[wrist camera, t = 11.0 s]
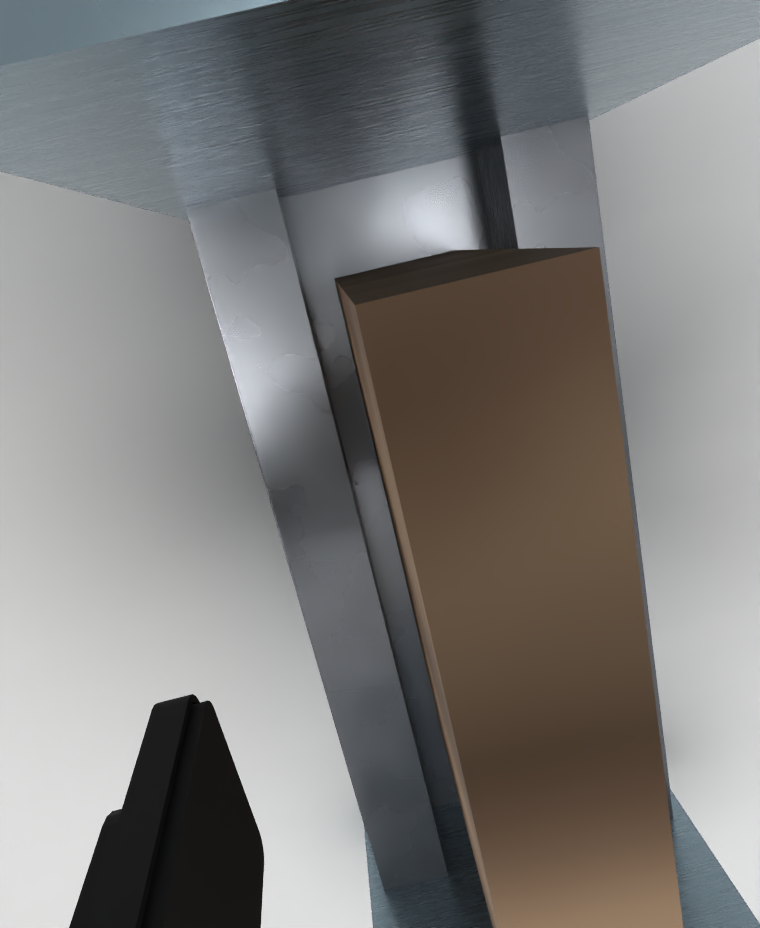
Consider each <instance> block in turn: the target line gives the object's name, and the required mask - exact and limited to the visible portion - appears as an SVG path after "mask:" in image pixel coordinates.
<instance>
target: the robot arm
mask: <svg viewBox="0 0 760 928" xmlns="http://www.w3.org/2000/svg"><path fill="white" fill-rule="evenodd" d="M263 872H264V852H263V845H262V840H261V836H260V833H259V830H258V827H257V824H256V822H255V819H254V816H253V814H252V811H251V808H250V805H249V803H248V800H247V797H246V794H245V792H244V789H243V786H242V783H241V781H240V778H239V775H238V773H237V770H236V767H235V764H234V762H233V759H232V756H231V753H230V751H229V748H228V745H227V743H226V740H225V737H224V734H223V732H222V729H221V726H220V723H219V721H218V718H217V715H216V712H215V710H214V707H213V705H212V703H211V702H210V701H205V702H201V703H200V702H199V700H198V698H197V697H196V696H195V695H193V694H192V695H188V696H184V697H180V698H176V699H172V700H168V701H164V702H160V703H157V704H155V705H154V707H153V709H152V712H151V715H150V718H149V722H148V725H147V728H146V732H145V735H144V738H143V741H142V745H141V748H140V751H139V755H138V758H137V761H136V765H135V768H134V771H133V774H132V778H131V781H130V784H129V788H128V791H127V794H126V798H125V801H124V804H123V807H122V809H120V810H116V811H112V812H111V813H110V814H109V815H108V816H107V817H106V820H105V822H104V824H103V826H102V829H101V832H100V835H99V838H98V841H97V844H96V847H95V850H94V853H93V857H92V860H91V863H90V866H89V869H88V872H87V875H86V878H85V881H84V884H83V887H82V890H81V893H80V896H79V899H78V902H77V905H76V909H75V912H74V915H73V918H72V921H71V924H70V927H69V928H261V909H262V891H263Z"/></svg>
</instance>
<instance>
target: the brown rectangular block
mask: <svg viewBox="0 0 760 928" xmlns="http://www.w3.org/2000/svg"><path fill="white" fill-rule="evenodd" d="M334 280H335V284H336V288H337V292H338V297H339V301H340V305H341V309H342V313H343V318H344V322H345V326H346V330H347V335H348V339H349V343H350V347H351V351H352V356H353V360H354V364H355V368H356V373H357V377H358V381H359V385H360V389H361V394H362V398H363V402H364V406H365V411H366V415H367V419H368V423H369V427H370V432H371V436H372V440H373V444H374V449H375V453H376V457H377V461H378V465H379V470H380V474H381V478H382V482H383V487H384V491H385V495H386V499H387V504H388V508H389V512H390V516H391V520H392V525H393V529H394V533H395V537H396V542H397V546H398V550H399V554H400V558H401V563H402V567H403V571H404V575H405V580H406V584H407V588H408V592H409V596H410V601H411V605H412V609H413V613H414V618H415V622H416V626H417V630H418V634H419V639H420V643H421V647H422V651H423V656H424V660H425V664H426V668H427V672H428V677H429V681H430V685H431V689H432V694H433V698H434V702H435V706H436V711H437V715H438V719H439V723H440V727H441V732H442V736H443V740H444V744H445V749H446V752H447V756H448V760H449V764H450V767H451V771H452V775H453V779H454V783H455V786H456V790H457V794H458V798H459V801H460V805H461V809H462V813H463V817H464V820H465V824H466V828H467V832H468V835H469V839H470V843H471V847H472V851H473V854H474V858H475V862H476V866H477V869H478V873H479V877H480V881H481V885H482V888H483V892H484V896H485V900H486V903H487V907H488V911H489V915H490V919H491V922H492V926H493V928H683V920H682V912H681V904H680V896H679V888H678V880H677V872H676V863H675V855H674V847H673V839H672V831H671V823H670V815H669V807H668V799H667V790H666V782H665V774H664V766H663V758H662V750H661V742H660V734H659V726H658V718H657V709H656V701H655V693H654V685H653V677H652V669H651V661H650V653H649V645H648V636H647V628H646V620H645V612H644V604H643V596H642V588H641V580H640V572H639V564H638V555H637V547H636V539H635V531H634V523H633V515H632V507H631V499H630V491H629V482H628V474H627V466H626V458H625V450H624V442H623V434H622V426H621V418H620V410H619V401H618V393H617V385H616V377H615V369H614V361H613V353H612V345H611V337H610V328H609V320H608V312H607V304H606V296H605V288H604V280H603V272H602V264H601V256H600V247H578V248H527V249H477V250H453V251H449V252H444V253H440V254H436V255H432V256H428V257H423V258H419V259H415V260H411V261H406V262H402V263H398V264H394V265H390V266H385V267H381V268H377V269H373V270H368V271H364V272H360V273H356V274H352V275H347V276H343V277H339V278H335V279H334Z"/></svg>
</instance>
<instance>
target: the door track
mask: <svg viewBox="0 0 760 928" xmlns="http://www.w3.org/2000/svg"><path fill="white" fill-rule="evenodd" d="M759 38H760V0H0V171H1V172H5V173H9V174H13V175H17V176H20V177H24V178H28V179H32V180H36V181H40V182H43V183H47V184H51V185H55V186H59V187H63V188H67V189H70V190H74V191H78V192H82V193H86V194H90V195H94V196H97V197H101V198H105V199H109V200H113V201H117V202H121V203H124V204H128V205H132V206H136V207H140V208H144V209H148V210H151V211H155V212H159V213H163V214H167V215H171V216H175V217H178V218H182V219H186V220H188V221H189V224H190V228H191V231H192V235H193V238H194V241H195V245H196V248H197V252H198V255H199V259H200V262H201V266H202V269H203V272H204V276H205V279H206V283H207V286H208V290H209V293H210V296H211V300H212V303H213V307H214V310H215V314H216V317H217V321H218V324H219V327H220V331H221V334H222V338H223V341H224V345H225V348H226V351H227V355H228V358H229V362H230V365H231V369H232V372H233V376H234V379H235V382H236V386H237V389H238V393H239V396H240V400H241V403H242V406H243V410H244V413H245V417H246V420H247V424H248V427H249V431H250V434H251V437H252V441H253V444H254V448H255V451H256V455H257V458H258V461H259V465H260V468H261V472H262V475H263V479H264V482H265V486H266V489H267V492H268V496H269V499H270V503H271V506H272V510H273V513H274V517H275V520H276V523H277V527H278V530H279V534H280V537H281V541H282V544H283V547H284V551H285V554H286V558H287V561H288V565H289V568H290V572H291V575H292V578H293V582H294V585H295V589H296V592H297V596H298V599H299V602H300V606H301V609H302V613H303V616H304V620H305V623H306V627H307V630H308V633H309V637H310V640H311V644H312V647H313V651H314V654H315V657H316V661H317V664H318V668H319V671H320V675H321V678H322V682H323V685H324V688H325V692H326V695H327V699H328V702H329V706H330V709H331V712H332V716H333V719H334V723H335V726H336V730H337V733H338V737H339V740H340V743H341V747H342V750H343V754H344V757H345V761H346V764H347V767H348V771H349V774H350V778H351V781H352V785H353V788H354V792H355V795H356V798H357V802H358V805H359V809H360V812H361V816H362V819H363V823H364V829H365V840H366V851H367V863H368V874H369V886H370V897H371V909H372V920H373V928H493V926H492V922H491V919H490V915H489V911H488V907H487V903H486V900H485V896H484V892H483V888H482V885H481V881H480V877H479V873H478V869H477V866H476V862H475V858H474V854H473V851H472V847H471V843H470V839H469V835H468V832H467V828H466V824H465V820H464V817H463V813H462V809H461V805H460V801H459V798H458V794H457V790H456V786H455V783H454V779H453V775H452V771H451V767H450V764H449V760H448V756H447V752H446V749H445V744H444V740H443V736H442V732H441V727H440V723H439V719H438V715H437V711H436V706H435V702H434V698H433V694H432V689H431V685H430V681H429V677H428V672H427V668H426V664H425V660H424V656H423V651H422V647H421V643H420V639H419V634H418V630H417V626H416V622H415V618H414V613H413V609H412V605H411V601H410V596H409V592H408V588H407V584H406V580H405V575H404V571H403V567H402V563H401V558H400V554H399V550H398V546H397V542H396V537H395V533H394V529H393V525H392V520H391V516H390V512H389V508H388V504H387V499H386V495H385V491H384V487H383V482H382V478H381V474H380V470H379V465H378V461H377V457H376V453H375V449H374V444H373V440H372V436H371V432H370V427H369V423H368V419H367V415H366V411H365V406H364V402H363V398H362V394H361V389H360V385H359V381H358V377H357V373H356V368H355V364H354V360H353V356H352V351H351V347H350V343H349V339H348V335H347V330H346V326H345V322H344V318H343V313H342V309H341V305H340V301H339V297H338V292H337V288H336V284H335V280H334V279H335V278H339V277H343V276H347V275H352V274H356V273H360V272H364V271H368V270H373V269H377V268H381V267H385V266H390V265H394V264H398V263H402V262H406V261H411V260H415V259H419V258H423V257H428V256H432V255H436V254H440V253H444V252H449V251H453V250H477V249H527V248H578V247H600V256H601V264H602V272H603V280H604V288H605V296H606V304H607V312H608V320H609V328H610V337H611V345H612V353H613V361H614V369H615V377H616V385H617V393H618V401H619V410H620V418H621V426H622V434H623V442H624V450H625V458H626V466H627V474H628V482H629V491H630V499H631V507H632V515H633V523H634V531H635V539H636V547H637V555H638V564H639V572H640V580H641V588H642V596H643V604H644V612H645V620H646V628H647V636H648V645H649V653H650V661H651V669H652V677H653V685H654V693H655V701H656V709H657V718H658V726H659V734H660V742H661V750H662V758H663V766H664V774H665V782H666V790H667V799H668V807H669V815H670V823H671V831H672V839H673V847H674V855H675V863H676V872H677V880H678V888H679V896H680V904H681V912H682V920H683V928H760V924H759V922H758V921H757V919H756V918H755V916H754V915H753V913H752V912H751V910H750V909H749V907H748V905H747V904H746V902H745V901H744V899H743V898H742V896H741V895H740V893H739V892H738V890H737V889H736V887H735V886H734V884H733V883H732V881H731V880H730V878H729V877H728V875H727V874H726V872H725V871H724V869H723V868H722V866H721V865H720V863H719V862H718V860H717V859H716V857H715V856H714V854H713V853H712V851H711V850H710V848H709V847H708V845H707V844H706V842H705V841H704V839H703V838H702V836H701V835H700V833H699V832H698V830H697V829H696V827H695V826H694V824H693V823H692V821H691V820H690V818H689V817H688V815H687V814H686V812H685V811H684V809H683V808H682V806H681V805H680V803H679V802H678V800H677V799H676V797H675V796H674V794H673V793H672V791H671V790H670V786H669V778H668V770H667V762H666V754H665V745H664V737H663V729H662V721H661V712H660V704H659V696H658V688H657V679H656V671H655V663H654V655H653V646H652V638H651V630H650V622H649V613H648V605H647V597H646V589H645V580H644V572H643V564H642V556H641V547H640V539H639V531H638V523H637V514H636V506H635V498H634V490H633V481H632V473H631V465H630V457H629V448H628V440H627V432H626V424H625V415H624V407H623V399H622V391H621V382H620V374H619V366H618V358H617V349H616V341H615V333H614V325H613V316H612V308H611V300H610V292H609V284H608V275H607V267H606V259H605V251H604V242H603V234H602V226H601V218H600V209H599V201H598V193H597V185H596V176H595V168H594V160H593V152H592V143H591V135H590V127H589V120H591V119H593V118H595V117H597V116H599V115H601V114H603V113H605V112H608V111H610V110H612V109H614V108H616V107H618V106H620V105H622V104H624V103H626V102H628V101H630V100H632V99H635V98H637V97H639V96H641V95H643V94H645V93H647V92H649V91H651V90H653V89H655V88H657V87H659V86H662V85H664V84H666V83H668V82H670V81H672V80H674V79H676V78H678V77H680V76H682V75H684V74H686V73H689V72H691V71H693V70H695V69H697V68H699V67H701V66H703V65H705V64H707V63H709V62H711V61H713V60H716V59H718V58H720V57H722V56H724V55H726V54H728V53H730V52H732V51H734V50H736V49H738V48H740V47H743V46H745V45H747V44H749V43H751V42H753V41H755V40H757V39H759Z"/></svg>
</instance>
